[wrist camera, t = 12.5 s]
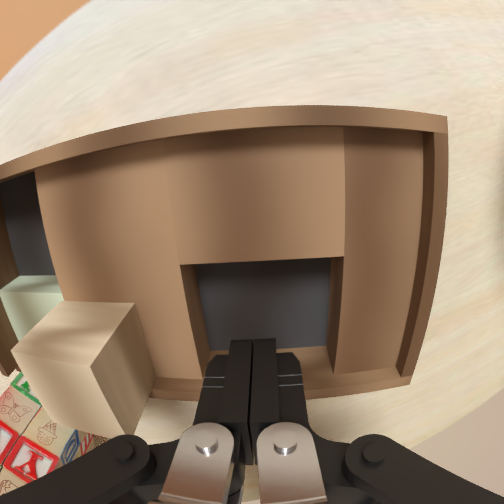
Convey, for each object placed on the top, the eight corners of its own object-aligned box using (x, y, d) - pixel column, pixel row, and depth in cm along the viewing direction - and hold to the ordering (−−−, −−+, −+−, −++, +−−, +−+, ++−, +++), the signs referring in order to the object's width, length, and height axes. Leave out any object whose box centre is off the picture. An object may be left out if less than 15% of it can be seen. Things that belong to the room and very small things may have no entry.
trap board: (405, 120, 11) (467, 115, 6) (388, 343, 14) (418, 402, 10) (-5, 174, 12) (-61, 190, 8) (42, 342, 16) (7, 382, 11)
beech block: (134, 303, 11) (90, 366, 7) (156, 376, 13) (130, 442, 9) (61, 300, 11) (10, 350, 8) (88, 368, 13) (53, 422, 9)
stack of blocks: (100, 485, 24) (74, 557, 13) (57, 463, 24) (25, 531, 12) (94, 396, 17) (26, 532, 6) (27, 358, 17) (-54, 467, 5)
